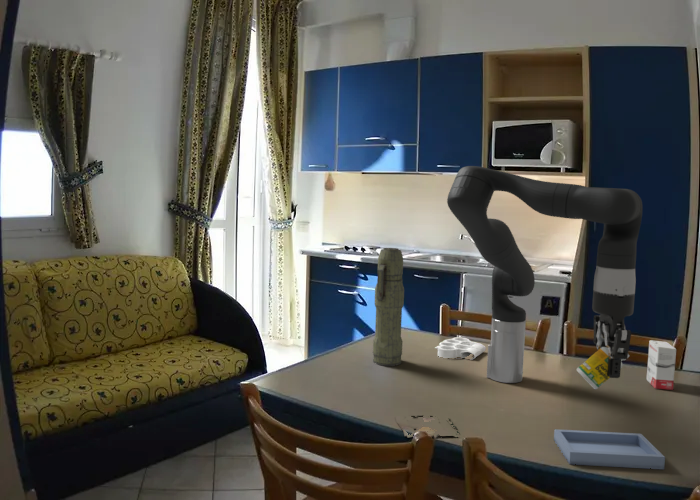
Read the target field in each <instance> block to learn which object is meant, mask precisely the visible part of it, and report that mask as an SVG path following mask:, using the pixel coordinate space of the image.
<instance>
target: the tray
mask: <svg viewBox="0 0 700 500" xmlns="http://www.w3.org/2000/svg"><path fill="white" fill-rule="evenodd" d="M554 441H555V442H554ZM553 442H554V444H555V445H556V444H557V445H556V446H557V448H558V447H559V448H558V450H559V451H560V450H561V451H560V453H561V454H562V453H563V454H562V456H563V457H564V459H565V460H566V459H567V460H566V461H567V463H568V465H575V464H576V465H575V466H577V465H578V466H592V467H593V466H595V467H597V466H598V467H613V468H614V467H615V468H633V469H649V470H650V468H651V469H653V470H665V461H666V456H664V455H663V454H662V452H660V450H658V449H657V448H656V447H655V445H653V444H652V443H651V442H650V441H649V440H648V439H647V438H646V437H645V436H644V435H643V434H642V433H635V432H633V433H632V432H616V431H615V432H614V431H613V432H611V431H594V430H593V431H592V430H579V429H577V430H576V429H573V430H572V429H554V431H553Z"/></svg>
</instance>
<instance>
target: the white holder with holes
mask: <svg viewBox="0 0 700 500" xmlns="http://www.w3.org/2000/svg"><path fill="white" fill-rule="evenodd" d="M433 349H436V350H437V357H438V356H439V357H438V358H440V357H443V358H456V357H461V358H460V359H462V358H465V357H467V356H469V355H470V354H473V355H474V357H473V358H472V359H470V360H469V361H472V360H474V359H476V357H478V356H480V355H481V354H482V353H484V352H485V351H486V350H487V349H486V346H485V345H484V344H482V343H480V342H475V341H472V340H470V339H469V338H466V337H461V336H460V337H457V336H456V337H452V338H449V339H444V340H443V341H441V342H439V344H438V345H437V346H435V347H434V348H433ZM443 358H442V359H443ZM456 359H457V358H456Z"/></svg>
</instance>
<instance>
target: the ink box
mask: <svg viewBox="0 0 700 500" xmlns="http://www.w3.org/2000/svg"><path fill="white" fill-rule="evenodd" d="M648 342H649V343H648V355H647V356H648V357H647V367H646V368H647V371H646V381H647V382H648V383H649V384H650V385H651V386H652V387H653V388H654V389H655V390H656V389H657V390H670V391H673V390H674V383H675V382H674V381H675V371H676V370H675V368H676V360H677V359H676V357H677V349H676V347H674V346H673V345H671V344H670V343H669V342H667V341H661V340H654V339H651V340H649V341H648Z"/></svg>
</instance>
